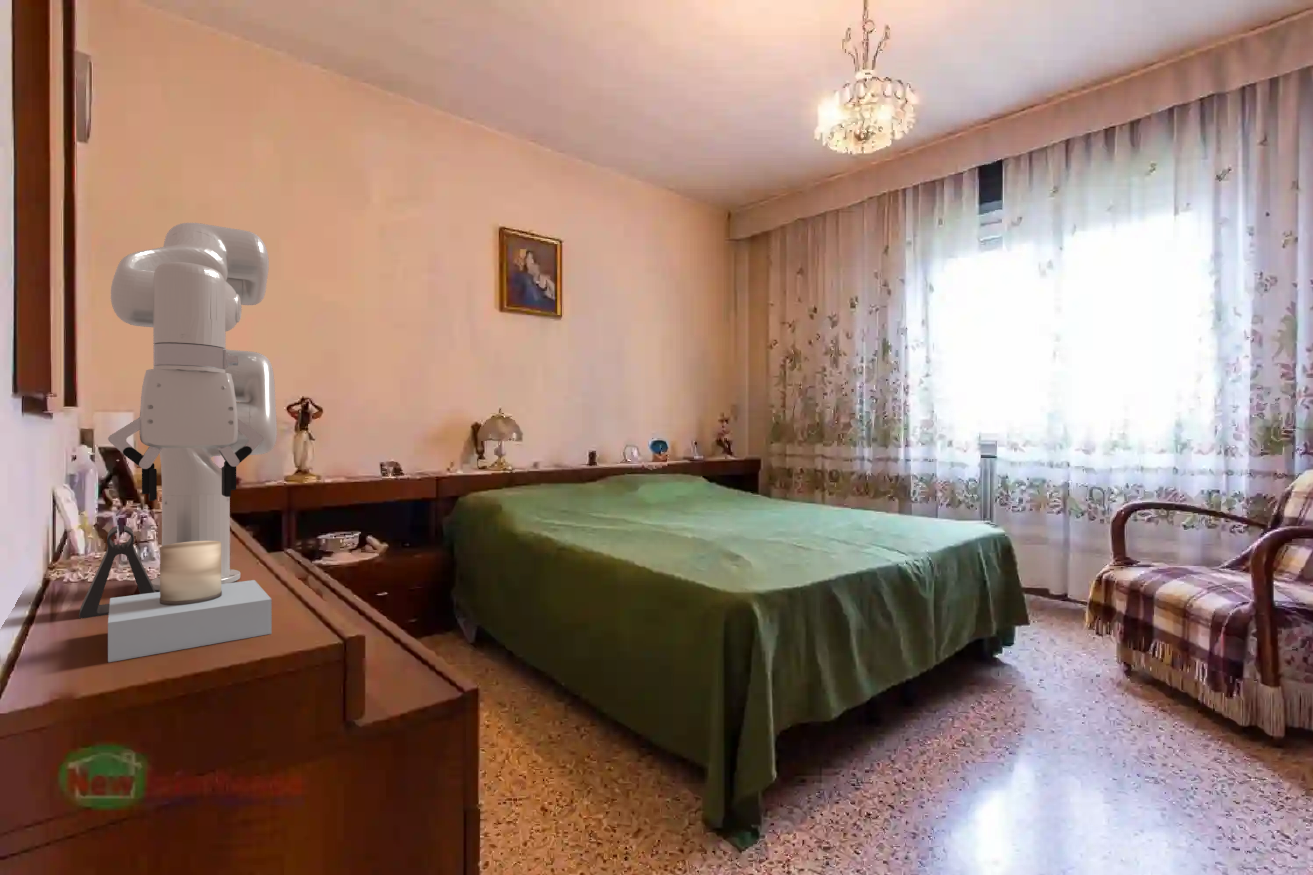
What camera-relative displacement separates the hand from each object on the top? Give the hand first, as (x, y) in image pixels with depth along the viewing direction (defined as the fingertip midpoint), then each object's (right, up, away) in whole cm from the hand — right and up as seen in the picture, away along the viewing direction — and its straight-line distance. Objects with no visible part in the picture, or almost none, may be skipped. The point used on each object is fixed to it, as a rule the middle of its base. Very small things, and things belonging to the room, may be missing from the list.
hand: (190, 496), depth 81 cm
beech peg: (0, -17, 0) cm, 17 cm away
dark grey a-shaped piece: (-19, -18, +12) cm, 29 cm away
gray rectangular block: (0, -18, 0) cm, 18 cm away
